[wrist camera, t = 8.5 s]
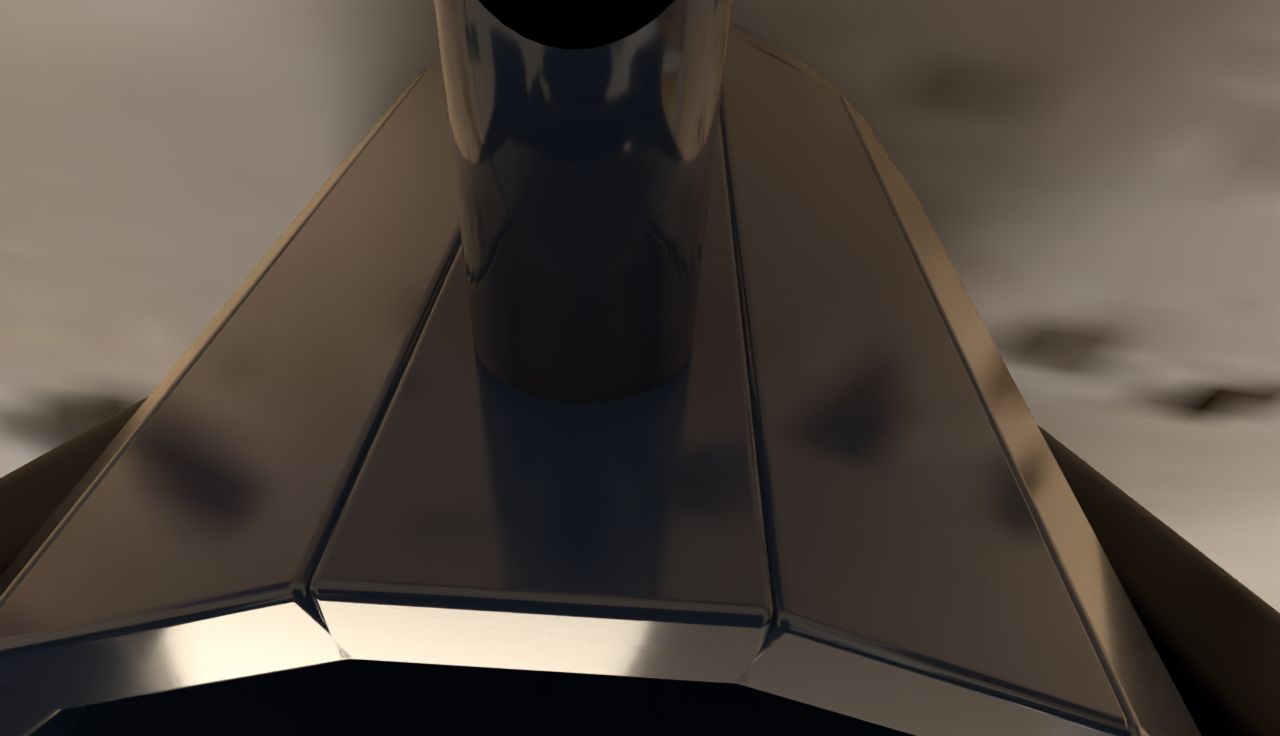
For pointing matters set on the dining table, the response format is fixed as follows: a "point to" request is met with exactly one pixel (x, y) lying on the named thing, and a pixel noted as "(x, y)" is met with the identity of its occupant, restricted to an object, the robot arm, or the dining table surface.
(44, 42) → the dining table surface
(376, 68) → the dining table surface
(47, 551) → the blue coffee mug
